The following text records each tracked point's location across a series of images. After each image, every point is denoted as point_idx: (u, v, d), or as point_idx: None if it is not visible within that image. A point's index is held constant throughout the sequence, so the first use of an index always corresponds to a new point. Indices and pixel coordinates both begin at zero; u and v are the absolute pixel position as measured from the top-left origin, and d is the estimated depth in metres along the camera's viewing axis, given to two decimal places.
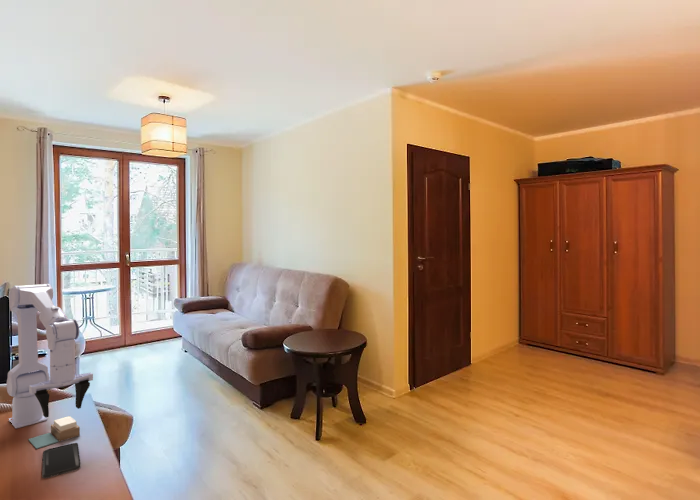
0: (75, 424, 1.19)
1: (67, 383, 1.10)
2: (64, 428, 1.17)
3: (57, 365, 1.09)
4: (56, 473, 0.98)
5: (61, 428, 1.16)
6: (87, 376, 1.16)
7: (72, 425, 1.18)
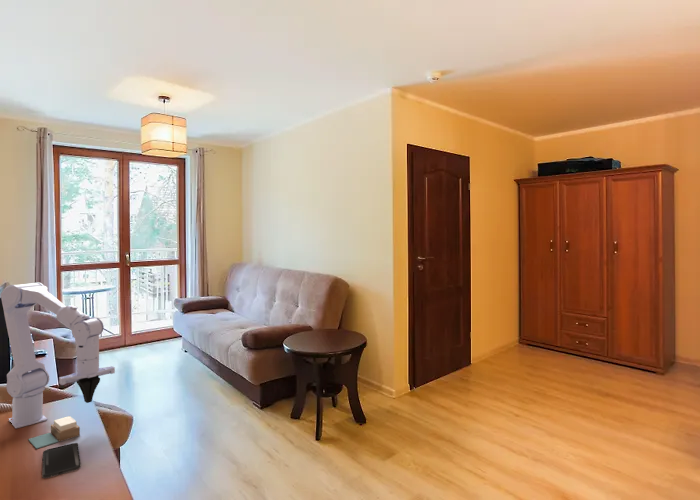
0: (75, 424, 1.19)
1: (93, 375, 1.21)
2: (64, 428, 1.17)
3: (88, 358, 1.21)
4: (56, 473, 0.98)
5: (61, 428, 1.16)
6: (109, 369, 1.28)
7: (72, 425, 1.18)
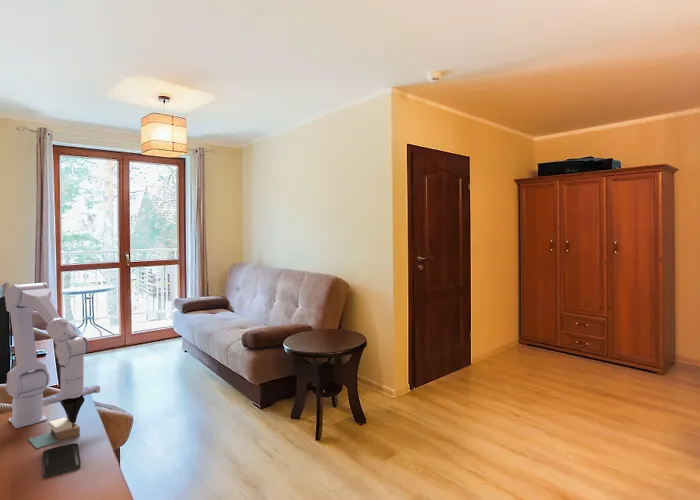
0: (70, 425, 1.18)
1: (77, 396, 1.18)
2: (59, 429, 1.16)
3: (70, 379, 1.18)
4: (56, 473, 0.98)
5: (56, 429, 1.15)
6: (94, 388, 1.24)
7: (67, 426, 1.17)
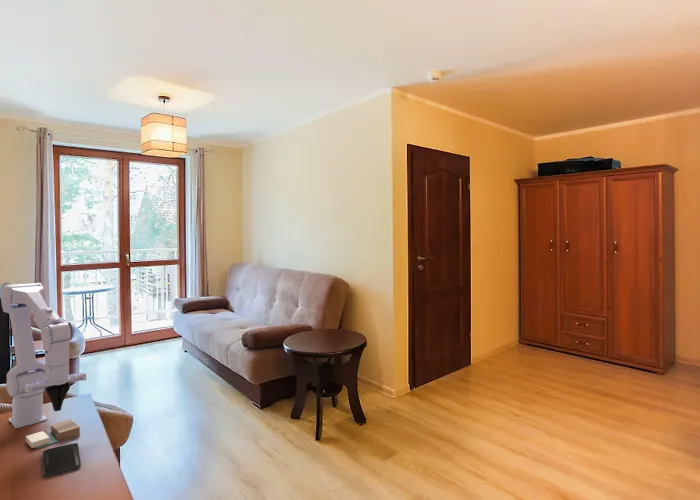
0: (33, 444, 1.11)
1: (61, 382, 1.15)
2: (45, 440, 1.13)
3: (52, 365, 1.15)
4: (56, 473, 0.98)
5: (48, 440, 1.14)
6: (81, 376, 1.21)
7: (36, 443, 1.11)
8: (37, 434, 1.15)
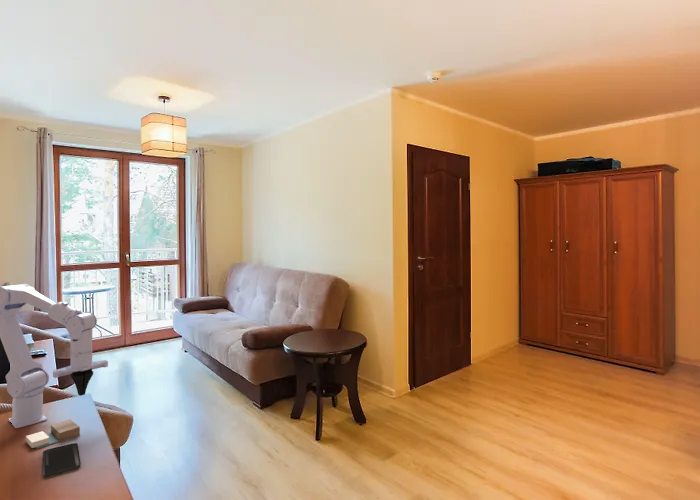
0: (33, 444, 1.11)
1: (86, 368, 1.23)
2: (45, 440, 1.13)
3: (83, 352, 1.24)
4: (56, 473, 0.98)
5: (48, 440, 1.14)
6: (103, 363, 1.30)
7: (36, 443, 1.11)
8: (37, 434, 1.15)
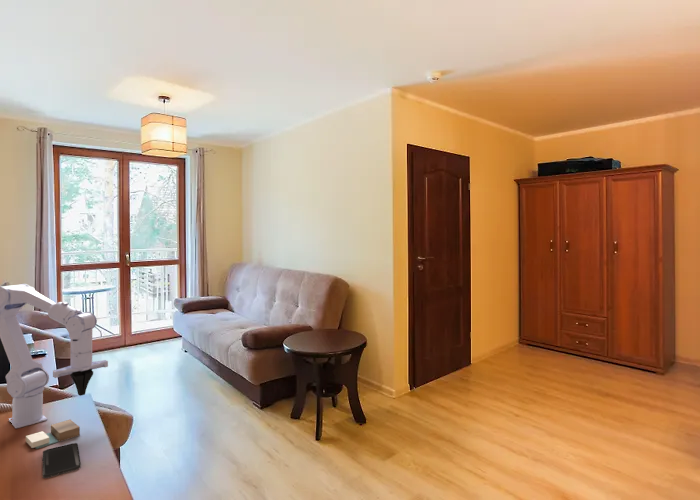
0: (33, 444, 1.11)
1: (86, 368, 1.23)
2: (45, 440, 1.13)
3: (83, 352, 1.24)
4: (56, 473, 0.98)
5: (48, 440, 1.14)
6: (103, 363, 1.30)
7: (36, 443, 1.11)
8: (37, 434, 1.15)
